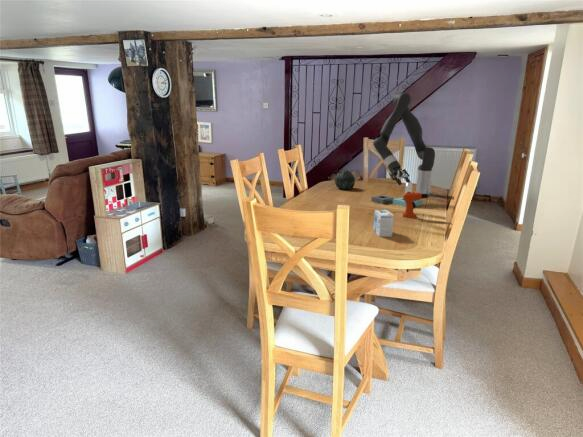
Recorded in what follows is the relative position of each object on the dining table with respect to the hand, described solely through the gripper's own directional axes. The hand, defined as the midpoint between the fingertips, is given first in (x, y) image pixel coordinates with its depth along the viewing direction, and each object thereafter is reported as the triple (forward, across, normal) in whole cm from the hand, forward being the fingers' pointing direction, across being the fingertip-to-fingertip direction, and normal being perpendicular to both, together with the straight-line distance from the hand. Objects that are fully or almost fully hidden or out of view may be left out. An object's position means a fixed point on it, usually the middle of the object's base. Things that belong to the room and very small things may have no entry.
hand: (405, 183), depth 261 cm
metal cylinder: (+11, 0, +7) cm, 13 cm away
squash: (-30, +1, +48) cm, 57 cm away
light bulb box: (+34, -60, -16) cm, 71 cm away
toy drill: (+28, -21, -10) cm, 37 cm away
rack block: (+11, 0, +7) cm, 13 cm away
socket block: (+1, -8, +16) cm, 18 cm away
